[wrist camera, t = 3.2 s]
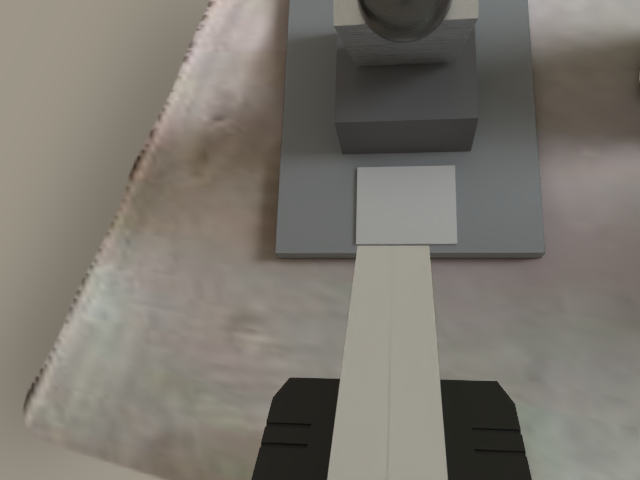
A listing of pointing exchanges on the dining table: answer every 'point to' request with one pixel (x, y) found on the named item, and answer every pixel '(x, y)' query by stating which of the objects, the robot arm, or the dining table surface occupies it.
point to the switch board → (478, 174)
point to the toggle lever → (404, 29)
